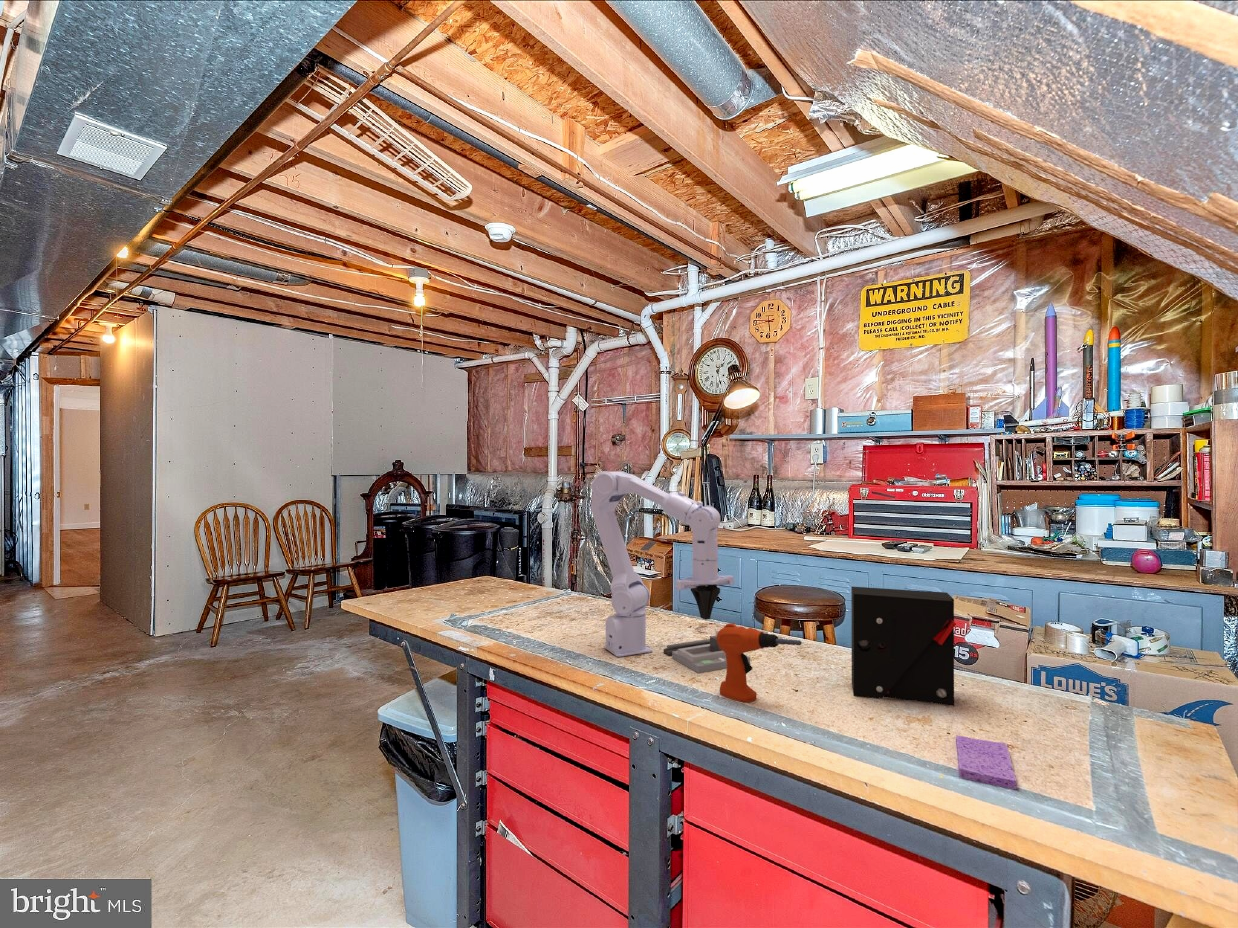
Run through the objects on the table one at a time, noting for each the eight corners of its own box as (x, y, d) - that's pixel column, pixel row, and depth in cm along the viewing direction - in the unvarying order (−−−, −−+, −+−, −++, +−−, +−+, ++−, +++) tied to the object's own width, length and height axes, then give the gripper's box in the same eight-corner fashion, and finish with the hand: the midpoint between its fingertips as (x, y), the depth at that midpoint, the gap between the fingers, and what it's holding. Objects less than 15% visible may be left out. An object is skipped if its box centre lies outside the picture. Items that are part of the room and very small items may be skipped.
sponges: (958, 780, 83) (958, 767, 83) (955, 743, 94) (955, 732, 94) (1017, 793, 80) (1017, 780, 80) (1007, 754, 91) (1006, 742, 91)
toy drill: (804, 712, 102) (794, 629, 103) (715, 698, 113) (707, 624, 114) (814, 704, 105) (804, 624, 106) (727, 691, 117) (719, 620, 118)
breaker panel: (698, 673, 125) (698, 660, 125) (672, 657, 135) (672, 646, 135) (750, 663, 131) (750, 651, 131) (721, 649, 141) (721, 638, 141)
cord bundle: (669, 656, 136) (669, 646, 136) (663, 652, 138) (663, 643, 138) (718, 648, 142) (718, 639, 142) (712, 645, 144) (712, 636, 144)
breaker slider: (718, 655, 132) (718, 633, 132) (710, 651, 135) (709, 630, 135) (732, 652, 134) (732, 631, 134) (724, 648, 137) (724, 628, 137)
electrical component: (945, 689, 116) (944, 590, 116) (956, 709, 106) (956, 601, 106) (851, 679, 122) (850, 584, 122) (853, 697, 112) (853, 594, 112)
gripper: (687, 564, 126) (687, 626, 125) (741, 559, 132) (741, 618, 132) (670, 559, 132) (671, 618, 132) (723, 555, 138) (723, 611, 138)
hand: (705, 618), depth 132 cm, fingers closed
